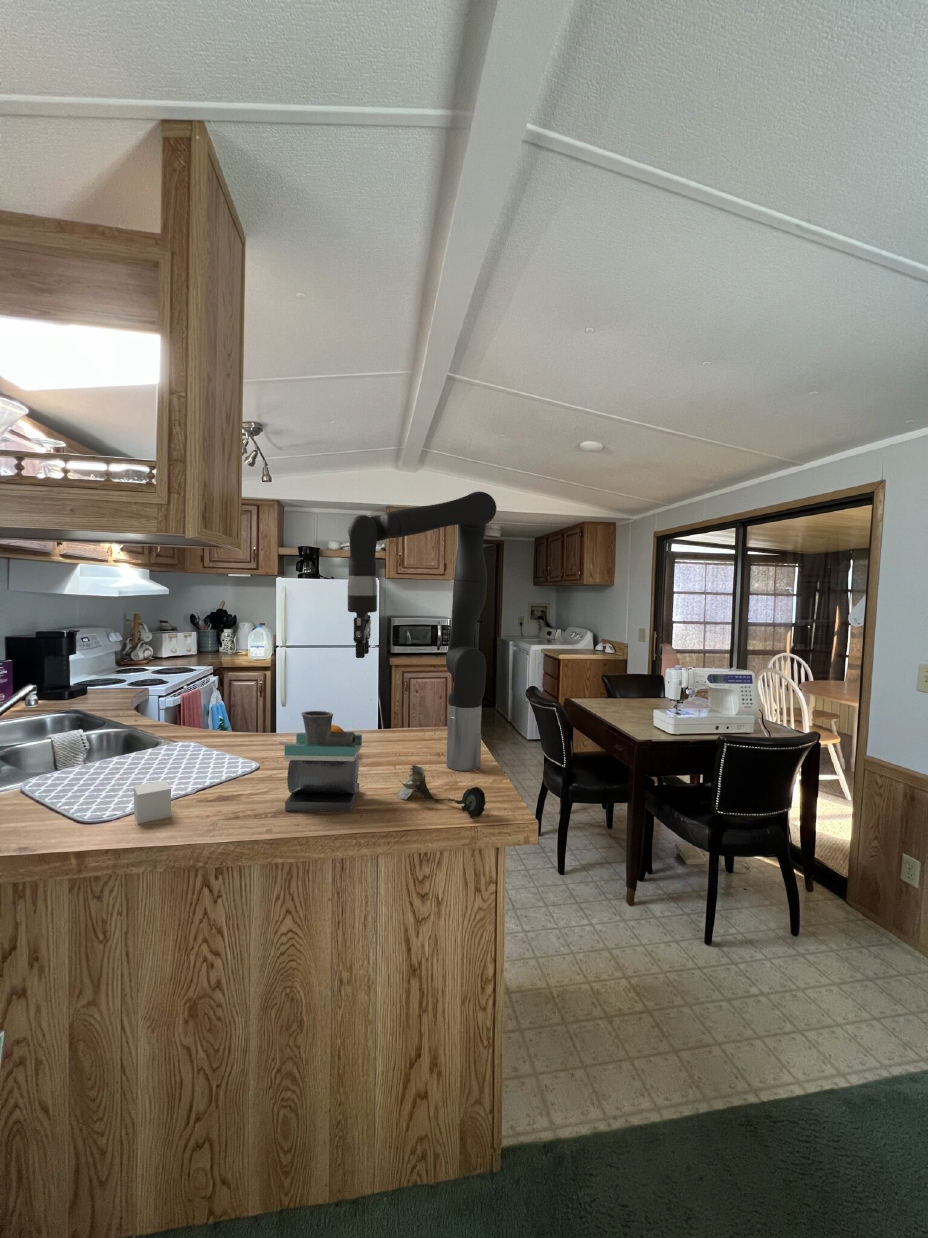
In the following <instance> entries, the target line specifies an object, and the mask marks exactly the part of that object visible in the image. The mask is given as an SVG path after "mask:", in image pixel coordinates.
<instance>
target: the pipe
mask: <svg viewBox="0 0 928 1238" xmlns="http://www.w3.org/2000/svg"><path fill="white" fill-rule="evenodd" d="M301 716H302V719H303V720H302V721H303V726H304V732H305V734H306V745H352V746H355V745H356V736H355V734H356V733H355V732H354V731H345V732H333V731H331V725H333V724H332V721H333V717H334V714H333V713H332V712H331V711H324V710H323V711H322V710H309V711H308V710H307V711H302V712H301Z"/></svg>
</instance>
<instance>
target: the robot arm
mask: <svg viewBox="0 0 928 1238" xmlns="http://www.w3.org/2000/svg"><path fill="white" fill-rule="evenodd" d="M496 503H497V502H496V501H495V499H494V498H493V497H492V495H490V494H489V493H487V492H485V491H479V490H478V491H473V492H471V493H469V494H468V495H465V496H462V497H460V498H456V499H452V500H449V501H445V502H444V501H443V502H440V503H435V504H429V505H423V506H421V505H420V506H415V507H414V506H413V507H407V508H403V509H397V510H391V511H388V512H385V513H384V514H379V515H373V516H368V515H366V514H362V515H357V516H355V517H354V518H352V520H351V521H350V523H349V525H348V527H347V533H348V536H349V557H348V580H347V612H349V613H355V614H356V616H355V617H353V642H354V644H355V658H356V659H364V658H365V657H366V655H368V654H369V652H370V643H369V642H370V638H371V631H372V630H371V629H372V628H371V624H372V619H371V613H376V612H377V611H378V584H377V562H376V561H377V559H376V552H377V542H381V541H385V540H390V539H398V538H404V537H409V536H413V535H418V534H422V533H426V532H429V531H433V530H437V529H441V528H444V527H451V526H457V551H456V556H455V557H456V558H455V565H454V573H453V575H454V576H453V587H452V604H451V607H452V608H451V619H450V620H451V625H450V634H449V640H448V645H447V651H446V656H445V666H446V669H447V671H448V673H449V674H450V675H451V676H453V677H454V679H453V690H452V691H451V692H450V693H449V694H448V700H447V705H448V707H447V731H446V732H447V735H446V736H447V737H446V766H447V768H449V769H450V770H455V771H460V772H461V771H462V772H464V771H466V772H467V771H474V769H475V770H481V761H482V760H481V757H482V756H481V755H482V753H481V752H482V733H481V731H482V724H481V723H482V704H483V703H482V702H483V698H484V695H485V691H486V682H487V681H486V679H487V660H486V657H485V655H484V654H483V652H482V651H480V649H478V648H475V639H476V637H475V636H476V635H475V634H476V628H477V624H478V622H479V618H480V616H481V614H482V612H483V609H484V607H485V602H486V599H487V588H488V587H487V586H488V573H487V572H488V570H487V564H486V560H485V553H484V539H485V532H486V526H487V524H489V523H490V522H492V520H493V519H494V517H495V515H496V513H497V504H496ZM369 613H370V614H369Z"/></svg>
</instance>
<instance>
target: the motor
mask: <svg viewBox="0 0 928 1238" xmlns="http://www.w3.org/2000/svg"><path fill="white" fill-rule="evenodd" d="M354 734H355V736H356V745H355V746H352V745H306V734H305V733H304V732H297V733H296V736H295V737H296V738H295V739H296V741H295V743H291V744H290V743H289V744H288V743H285V745H284V753H283V754H284V755H283V760H284V761H289V763H288V769H287V779H286V780H287V790H288V792H289V793H290V794H289V796H288V797H287V799H286V800H285V801H284V811H285V812H325V813H326V812H329V813H330V812H331V813H332V812H333V813H351V812H352V809H353V807H354V804H355V803H356V799H357V797H358V795H359V793H360V782H358V781H359V769H360V765H359V764H360V763H359V762H360V761H359V760H360V759H359V758H360V757H359V753H360V751H361V749H362V747H363V734H360V733H359V734H357V733H354Z"/></svg>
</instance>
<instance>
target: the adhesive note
mask: <svg viewBox="0 0 928 1238" xmlns="http://www.w3.org/2000/svg"><path fill="white" fill-rule="evenodd" d="M170 786H171V785H169V783H168V781H167V779H166V780H165V779H164V780H159V781H153V782H148V783H147V782H146V783H142V784H135V785H133V815H134V818H135V821H136V824H137V825H138V824H142V823H146V822H152V821H157V820H163V819H167V818H170V817H172V788H171V787H170Z"/></svg>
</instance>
